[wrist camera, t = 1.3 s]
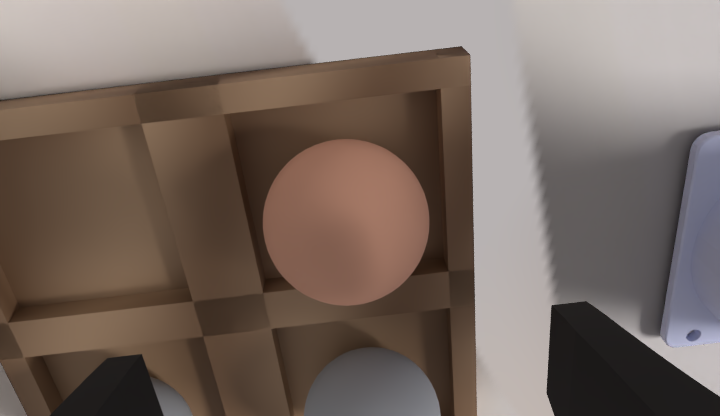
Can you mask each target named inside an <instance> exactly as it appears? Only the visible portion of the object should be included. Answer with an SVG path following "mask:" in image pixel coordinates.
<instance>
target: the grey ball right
mask: <svg viewBox="0 0 720 416" xmlns="http://www.w3.org/2000/svg"><path fill="white" fill-rule="evenodd" d="M304 416H441V414H440V407H439V402H438V399H437V396H436V393H435V390H434V388H433V386H432V384H431V382H430V380H429V379H428V377H427V376H426V375H425V373H424V372H423V371H422V370H421V369H420V368H419V367H418V366H417V365H416V364H415V363H414V362H413V361H411V360H410V359H409V358H407V357H405V356H404V355H402V354H400V353H397V352H395V351H392V350H389V349H385V348H379V347H366V348H359V349H355V350H351V351H348V352H346V353H344V354H342V355H340V356H338V357H337V358H335V359H334V360H332V361H331V362H330V363H329V364H328V365H326V366H325V367H324V369H323V370H322V371H321V372H320V373H319V374H318V376H317V377H316V379H315V380H314V382H313V384H312V386H311V388H310V390H309V393H308V396H307V399H306V403H305V409H304Z"/></svg>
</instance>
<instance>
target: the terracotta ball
mask: <svg viewBox="0 0 720 416" xmlns="http://www.w3.org/2000/svg"><path fill="white" fill-rule="evenodd" d="M263 233H264V239H265V243H266V247H267V250H268V253H269V255H270V257H271V259H272V261H273V263H274V265H275V266H276V268H277V270H278V271H279V273H280V274H281V275H282V276H283V277H284V278H285V280H287V281H288V282H289V283H290V284H291V285H292V286H293V287H294V288H295V289H297V290H298V291H300V292H301V293H303V294H304V295H306V296H308V297H310V298H313V299H315V300H318V301H320V302H324V303H328V304H333V305H342V306H350V305H360V304H365V303H368V302H372V301H375V300H377V299H380V298H382V297H384V296H386V295H387V294H389V293H391V292H392V291H394V290H395V289H397V288H398V287H399V286H400V285H402V284H403V283H404V282H405V281H406V280H407V278H408V277H409V276H410V275H411V274H412V273H413V271H414V270H415V268H416V267H417V265H418V264H419V262H420V260H421V258H422V256H423V253H424V250H425V247H426V244H427V240H428V234H429V210H428V204H427V200H426V197H425V194H424V191H423V189H422V187H421V185H420V183H419V181H418V179H417V178H416V176H415V175H414V173H413V172H412V171H411V169H410V168H409V167H408V166H407V165H406V164H405V163H404V162H403V161H402V160H401V159H400V158H398V157H397V156H396V155H395V154H393V153H392V152H390V151H389V150H387V149H385V148H383V147H381V146H379V145H376V144H373V143H370V142H366V141H361V140H356V139H336V140H331V141H326V142H323V143H319V144H316V145H314V146H312V147H310V148H307V149H305V150H304V151H302V152H301V153H299V154H297V155H296V156H295V157H294V158H293V159H291V160H290V161H289V162H288V163H287V164H286V165H285V166H284V167H283V169H282V170H281V171H280V172H279V174H278V175H277V177H276V178H275V179H274V181H273V183H272V185H271V187H270V190H269V192H268V195H267V198H266V201H265V206H264V211H263Z"/></svg>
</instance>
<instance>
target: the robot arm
mask: <svg viewBox="0 0 720 416" xmlns="http://www.w3.org/2000/svg"><path fill="white" fill-rule="evenodd" d="M692 330H693V331H692ZM690 331H692V332H691V333H689V332H690ZM688 333H689V334H688ZM660 336H661V338H662V339H663V340H664V342H665V343H666V344H667V345H668V346H670V347H684V346H692V345H701V344H709V343H718V342H720V131H712V132H707V133H704V134H702V135H701V136H699V137H698V138H697V139H696V140H695V141H694V142H693V144H692V147H691V149H690V155H689V161H688V167H687V173H686V180H685V186H684V192H683V198H682V204H681V210H680V216H679V222H678V228H677V234H676V240H675V246H674V252H673V258H672V264H671V270H670V276H669V282H668V288H667V294H666V300H665V307H664V313H663V319H662V325H661V331H660ZM549 344H550V345H549V360H548V378H547V395H548V398H549V401H550V404H551V407H552V410H553V412H554V416H720V397H719V396H718V395H716V394H715V393H713V392H712V391H710V390H709V389H707V388H706V387H704V386H703V385H701V384H700V383H698V382H697V381H696V380H694V379H693V378H691V377H690V376H688V375H687V374H685V373H684V372H683V371H681V370H680V369H678V368H677V367H675V366H674V365H673V364H671V363H670V362H668V361H667V360H666V359H664V358H663V357H661V356H660V355H659V354H657V353H656V352H655V351H653V350H652V349H650V348H649V347H648V346H646V345H645V344H644V343H642V342H641V341H640V340H638V339H637V338H635V337H634V336H633V335H631V334H630V333H629V332H627V331H626V330H625V329H623V328H622V327H621V326H619V325H618V324H617V323H615V322H614V321H613V320H611V319H610V318H609V317H607V316H606V315H605V314H603V313H602V312H601V311H599V310H598V309H596V308H595V307H594V306H592V305H591V304H589V303H588V302H587V301H585V302H576V303H568V304H560V305H552V307H551V325H550V343H549ZM50 416H164V415H163V412H162V409H161V406H160V404H159V401H158V398H157V395H156V392H155V390H154V387H153V384H152V381H151V378H150V376H149V373H148V370H147V367H146V364H145V362H144V359H143V356H142V354H137V355H129V356H121V357H112V358H107V359H106V360H105V361H104V362H103V363H101V364H100V365H99V366H98V367H97V368H96V369H95V370H94V371H93V372H92V373H91V374H90V375H89V376H88V377H87V378H86V379H85V380H84V381H83V382H82V383H81V384H80V385H79V386H78V387H77V388H76V389H75V390H74V391H73V392H72V393H71V394H70V395H69V396H68V397H67V398H66V399H65V400H64V401H63V402H62V403H61V404H60V405H59V406H58V407H57V408H56V410H55V411H54V412H53V413H52V414H51V415H50Z"/></svg>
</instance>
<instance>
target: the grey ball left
mask: <svg viewBox="0 0 720 416" xmlns="http://www.w3.org/2000/svg"><path fill="white" fill-rule="evenodd" d="M150 378H151V381H152V384H153V387H154V390H155V392H156V395H157V398H158V401H159V404H160V406H161V409H162V412H163V415H164V416H193V415H192V412H191V410H190V407H189V406H188V404H187V403H186V401H185V400H184V398H183V397H182V396H181V395H180V394H179V393H178V392H177V391H176V390H175V389H174V388H172V387H171V386H170V385H168V384H166V383H165V382H163V381H161V380H158V379H155V378H152V377H150Z"/></svg>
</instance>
